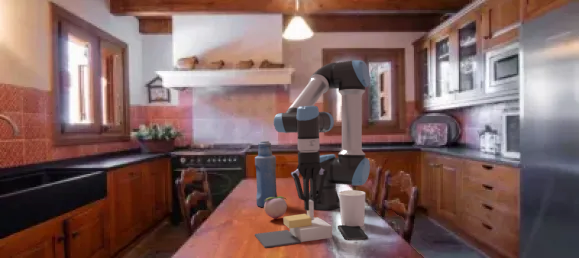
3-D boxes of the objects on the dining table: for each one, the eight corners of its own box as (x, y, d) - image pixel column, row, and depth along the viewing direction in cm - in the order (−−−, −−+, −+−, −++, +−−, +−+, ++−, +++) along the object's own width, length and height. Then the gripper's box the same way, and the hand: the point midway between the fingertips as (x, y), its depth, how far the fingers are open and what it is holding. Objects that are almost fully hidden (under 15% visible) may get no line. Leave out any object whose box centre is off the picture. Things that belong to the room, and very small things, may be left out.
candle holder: (357, 219, 150) (356, 189, 149) (371, 226, 141) (370, 193, 140) (334, 223, 146) (334, 191, 146) (347, 229, 137) (346, 196, 137)
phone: (344, 238, 126) (337, 225, 141) (344, 241, 126) (337, 228, 141) (368, 237, 126) (358, 224, 141) (368, 240, 126) (358, 227, 141)
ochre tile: (305, 220, 135) (304, 213, 135) (311, 225, 130) (311, 217, 130) (283, 223, 133) (283, 216, 133) (289, 228, 127) (288, 221, 127)
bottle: (280, 206, 177) (278, 141, 176) (259, 208, 173) (257, 142, 172) (273, 202, 186) (271, 140, 185) (253, 204, 182) (251, 141, 181)
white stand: (318, 228, 140) (318, 217, 140) (332, 237, 129) (331, 225, 129) (289, 231, 137) (289, 220, 137) (301, 241, 125) (301, 229, 125)
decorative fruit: (271, 223, 148) (270, 197, 148) (261, 219, 155) (260, 194, 155) (291, 219, 153) (291, 194, 153) (281, 215, 160) (281, 191, 160)
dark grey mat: (287, 231, 138) (287, 229, 138) (300, 243, 124) (300, 241, 124) (254, 235, 134) (254, 233, 134) (264, 247, 121) (264, 246, 120)
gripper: (294, 152, 126) (296, 224, 127) (330, 150, 130) (332, 219, 131) (287, 151, 133) (289, 218, 134) (321, 149, 138) (323, 214, 138)
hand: (310, 219), depth 133 cm, fingers closed
